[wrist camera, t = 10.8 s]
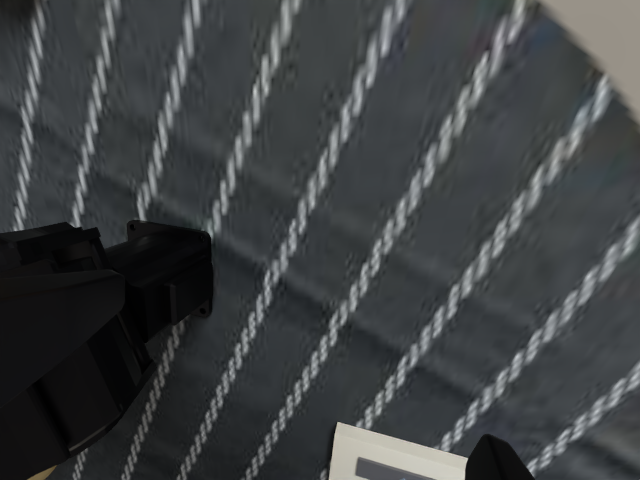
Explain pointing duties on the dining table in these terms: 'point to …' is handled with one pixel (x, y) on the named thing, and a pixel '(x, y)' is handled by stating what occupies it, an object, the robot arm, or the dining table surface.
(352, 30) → the dining table surface
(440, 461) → the letter card
